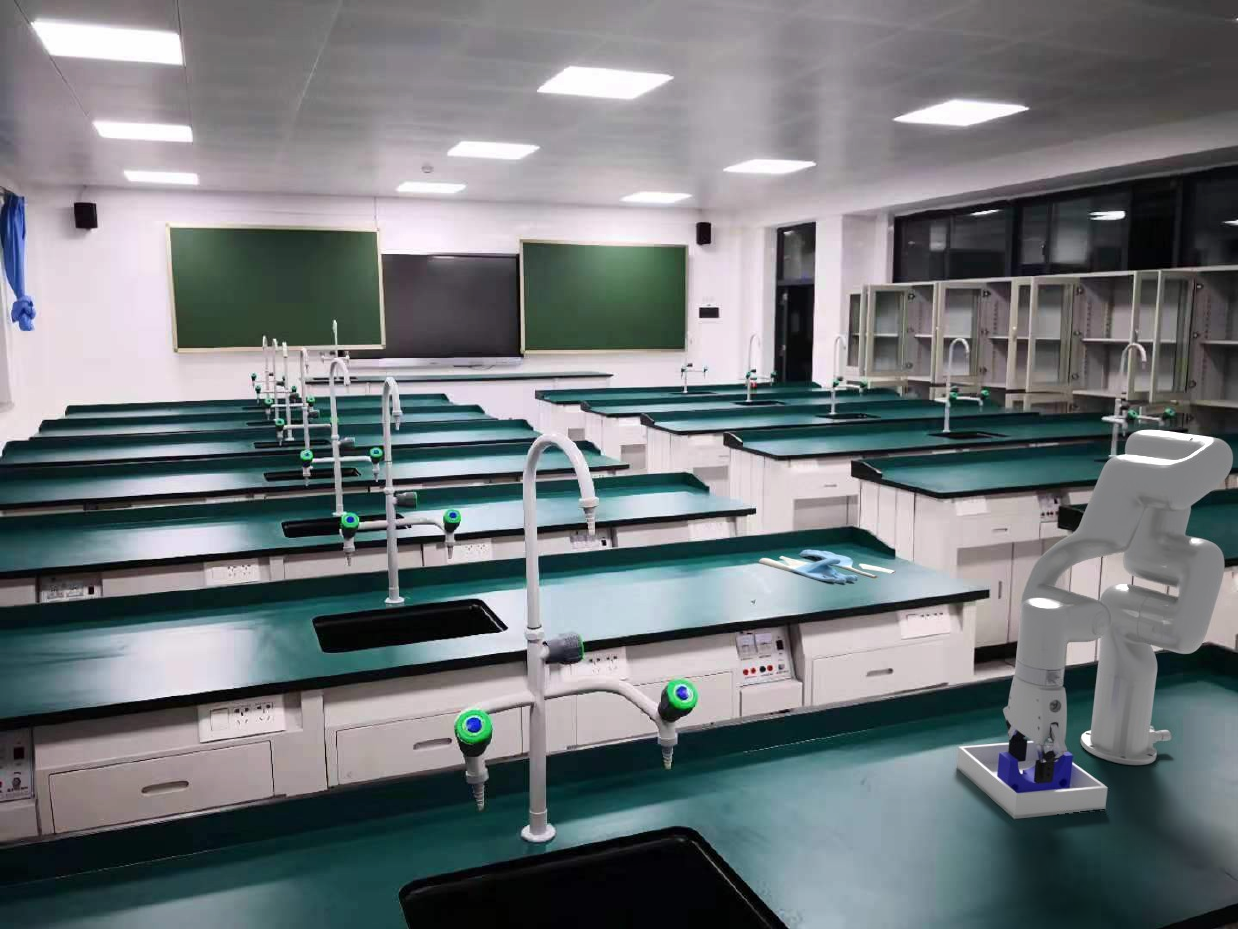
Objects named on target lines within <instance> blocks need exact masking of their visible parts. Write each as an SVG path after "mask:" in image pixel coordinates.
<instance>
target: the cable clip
mask: <svg viewBox="0 0 1238 929" xmlns="http://www.w3.org/2000/svg"><path fill="white" fill-rule="evenodd" d="M1073 761H1074V755H1073V754H1072V753H1071V752H1070V751H1068V750H1067V752H1066V753H1065V754H1064V755H1062V756H1061V758H1059V759H1058V761H1057V762H1055V765H1054V774H1053V781H1052V782H1050V783H1039V784H1037V783H1035V782H1034V773H1035V766H1033V767H1032V768H1029V769H1026V770H1023V773H1022V774H1021V773H1020V771H1019V768H1018V760H1017V759H1016V758H1014V757H1013V756H1012V755H1011V754H1009V753H1008V752H1001V753H999V761H998V772H997V777H998V778H1000V779H1001V780H1002V781H1003V782H1004V783H1006V784H1007V785H1008V786H1009V787H1010V788H1011V789H1013V790H1014V791H1015V792H1016V793H1024V792H1034V791H1044V790H1053V789H1063V788H1070V780H1071V770H1072V762H1073Z"/></svg>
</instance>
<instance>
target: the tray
mask: <svg viewBox="0 0 1238 929" xmlns="http://www.w3.org/2000/svg"><path fill="white" fill-rule="evenodd" d="M1008 748H1009V742H1000V743H990V744H989V743H988V744H976V745H974V744H973V745H963V746H960V745H959V746H958V748H957V758H956V759H957V760H956V768H957V770H959V771H960V772H961V773H962V774H963V775H964V776H965V777H967V778H968V779H969V780H970V781H971V782H972V783H973V784H974V785H976V786H977V788H979V789H980V790H981V791H982V792H983V793H984V794H986V795H987V796H988V797H989V798H990V799H991V800H992V801H994V803H996V804H997V805H998V806H999V807H1000V808H1002V810H1004V811H1005V813H1007V814H1008V815H1009V816H1010V817H1011V818H1013V819H1014V820H1017V819H1024V818H1035V817H1036V818H1037V817H1045V816H1046V817H1047V816H1055V815H1057V814H1059V815H1066V814H1065V813H1069V814H1074V813H1073V812H1079V813H1081V812H1080V811H1086V810H1093V809H1105V810H1106V803H1107V796H1108V787H1107V786H1106V785H1105V784H1104V783H1103V782H1101V781H1099V780H1098V779H1097V778H1095V777H1094V776H1092V775H1091V774H1090V773H1088V772H1087V771H1086V770H1084V769H1083V768H1082V767H1080V766H1078V765H1077V764H1076V763H1075V762H1073V761H1072V770H1071V780H1070V788H1063V789H1053V790H1044V791H1034V792H1024V793H1016V792H1015V791H1014V790H1013V789H1011V788H1010V787H1009V786H1008V785H1007V784H1006V783H1004V782H1003V781H1002V780H1001V779H1000V778H998V777H997V772H998V761H999V753H1001V752H1008ZM1044 751H1045V753H1047V752H1048V751H1049V746H1044ZM1036 760H1039V757H1038V752H1037V746H1036V743H1034V742H1033V741H1032V740H1027V752H1026V760H1025V761H1021V762H1018V768H1019V771H1020V773H1021V774H1022V773H1023V770H1026V769H1029V768H1032V767H1033V766H1035V763H1036Z"/></svg>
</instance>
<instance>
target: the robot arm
mask: <svg viewBox="0 0 1238 929" xmlns="http://www.w3.org/2000/svg"><path fill="white" fill-rule="evenodd" d="M1124 453H1125V454H1120V455H1116V456H1113V457H1111V458H1110V459H1108V460H1107V462H1105V464H1104V465H1103V468H1102V470H1101V472H1100V474H1099V476H1098V479H1097V482H1096V484H1095V486H1094V488H1093V491H1092V494H1091V497H1090V498H1089V501H1088V504H1087V506H1086V507H1085V509H1084V510H1085V511H1084V512H1083V515H1082V516H1081V517H1082V518H1081V521H1080V523H1079V526H1078V527H1077V528H1076V529H1075V531H1074V532H1072V533H1071V534H1069V535H1067V536H1066V537H1064V538H1062V539H1060V540H1059V541H1057V542H1056V543H1055V544H1054V545H1052V546H1051V547H1050V548H1048V549H1047V550H1046V551H1045V552H1044V553H1043V554H1042V555H1041V556H1039V558H1038V559H1037V560H1036V562H1035V564H1034V566H1033V567H1032V569H1031V571H1030V574H1029V576H1028V578H1027V581H1026V583H1025V586H1024V588H1023V591H1022V593H1021V597H1020V604H1019V608H1020V609H1019V610H1020V612H1019V613H1020V614H1019V624H1018V625H1019V626H1018V635H1017V644H1016V645H1017V648H1016V658H1015V669H1014V673H1013V674H1014V675H1013V677H1012V682H1011V686H1010V691H1009V694H1008V695H1009V696H1008V704H1007V706H1005V707H1004V708H1002V712H1003V715H1004V717H1005V718H1004V719H1005V725H1006V727H1007V738H1008V739H1009V741H1008V743H1009V748H1008V753H1009V754H1011V755H1012V756H1013V757H1014V758H1016V759H1017V760H1018V762H1021V761H1025V760H1026V752H1027V741H1028V739H1029V741H1033V742H1034V743H1036V746H1037V752H1038V757H1039V760H1036V763H1035V773H1034V782H1035V783H1037V784H1039V783H1050V782H1052V781H1053V774H1054V765H1055V762H1057V761H1058V759H1059V758H1061V756H1062V755H1064V754H1065V753H1066V752H1067V751H1068V748H1067V745H1066V743H1065V742H1066V738H1067V737H1066V734H1067V724H1068V723H1067V720H1068V717H1067V716H1068V714H1067V713H1068V712H1067V711H1068V708H1067V693H1066V688H1065V687H1064V686H1063V685H1064V677H1065V670H1066V658H1067V652H1068V651H1067V649H1068V644H1069V643H1089V642H1094V641H1096V640H1099V639H1100V640H1099V655H1098V663H1097V664H1098V665H1097V670H1096V671H1097V672H1096V681H1095V682H1096V683H1095V688H1094V700H1093V707H1092V717H1091V725H1090V726H1091V727H1090V730H1087V731H1085V732H1083V733H1082V734H1081V735H1080V736H1081V737H1080V744H1081V747H1082V748H1084V750H1086V752H1088V753H1090V754H1091V755H1093V756H1095V757H1097V758H1100V759H1103V760H1106V761H1108V762H1112V763H1117V764H1121V765H1128V766H1145V765H1149V764H1152V763H1153V762H1154V761H1156V759H1157V754H1158V752H1157V749H1156V748H1155V747H1154V744H1156V743H1157V742H1165V741H1166V742H1167V741H1171V739H1172V734H1171V732H1170V731H1169V730H1168V729H1161V730H1156V729H1155V727H1154V726H1153V725H1151V722H1152V715H1153V708H1154V707H1153V706H1154V697H1155V690H1156V689H1155V688H1156V683H1157V682H1156V681H1157V675H1158V674H1157V673H1158V661H1157V658H1156V654H1155V651H1154V649H1153V646H1154V647H1157V648H1160V649H1163V650H1167V651H1170V652H1173V653H1177V654H1182V655H1185V654H1186V655H1187V654H1192V653H1194V652H1196V651H1198V649H1199V648H1200V647H1201V646H1202V645H1203V642H1204V641H1205V638H1206V636H1207V634H1208V631H1209V626H1210V624H1211V620H1212V618H1213V612H1214V611H1215V610H1214V609H1215V607H1216V603H1217V599H1218V596H1219V593H1220V589H1221V586H1222V582H1223V579H1224V573H1225V558H1224V557H1225V556H1224V553H1223V551H1222V549H1221V548H1220V547H1219V546H1218V545H1217V544H1216V543H1214V542H1212V541H1209V540H1207V539H1204V538H1200V537H1194V536H1191V535H1190V536H1189V535H1186V530H1187V527H1188V523H1189V520H1190V517H1191V511H1192V508H1191V507H1192V506H1193V505H1194V504H1196V503H1197V502H1198V501H1200V500H1201V499H1202V498H1204V497H1205V496H1206V495H1208V494H1209V493H1210V492H1212V491H1213V490H1215V489H1217V487H1218V486H1220V485H1221V484H1222V483H1223V482H1224V481H1225V479H1227V477H1228V475H1229V474H1230V471H1231V470H1232V467H1233V462H1234V454H1233V453H1234V452H1233V450H1232V449H1231V447H1230V445H1229V444H1228V443H1227V442H1226V441H1225V440H1223V439H1221V438H1218V437H1217V438H1216V437H1213V436H1206V435H1198V434H1189V433H1182V432H1175V431H1169V430H1159V429H1157V430H1156V429H1144V430H1138V431H1135V432H1132V433H1131V434H1130V435H1129V437H1128V438H1127V440H1126V442H1125V447H1124ZM1122 553H1123V556H1122V566H1123V568H1124V570H1125V572H1126V573H1127V574H1129V575H1131V576H1133V577H1135V578H1138V579H1140V580H1144V581H1147V582H1152V583H1154V584H1155V583H1156V584H1158V585H1162V586H1166V587H1170V588H1175V589H1178V595H1177V596H1176V595H1173V594H1169V593H1164V592H1162V591H1158V590H1154V589H1151V588H1146V587H1144V586H1143V587H1142V586H1139V585H1135V584H1128V583H1118V584H1113V585H1111V586H1109V587H1107V588H1106V589H1105V590H1104V591H1103V592H1102V593H1101V595H1100V596H1099V600H1098V599H1096V598H1093V597H1090V596H1086V595H1083V594H1080V593H1076V592H1074V591H1071V590H1067V589H1063V588H1060V587H1056V585H1057V583H1058V581H1059V580H1060V579H1061V577H1062V576H1063V574H1065V572H1066V571H1067V570H1068V569H1070V568H1072V567H1074V566H1075V565H1077V564H1079V563H1082V562H1085V561H1089V560H1093V559H1095V558H1096V559H1097V558H1102V557H1107V556H1112V555H1119V554H1122ZM1046 740H1047V741H1046ZM1044 746H1049V751H1048V752H1047V753H1045V751H1044Z"/></svg>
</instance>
